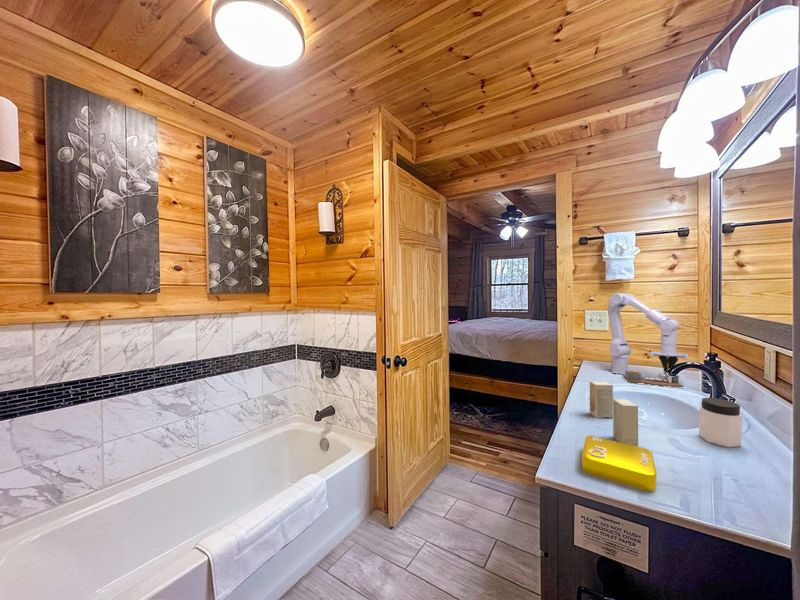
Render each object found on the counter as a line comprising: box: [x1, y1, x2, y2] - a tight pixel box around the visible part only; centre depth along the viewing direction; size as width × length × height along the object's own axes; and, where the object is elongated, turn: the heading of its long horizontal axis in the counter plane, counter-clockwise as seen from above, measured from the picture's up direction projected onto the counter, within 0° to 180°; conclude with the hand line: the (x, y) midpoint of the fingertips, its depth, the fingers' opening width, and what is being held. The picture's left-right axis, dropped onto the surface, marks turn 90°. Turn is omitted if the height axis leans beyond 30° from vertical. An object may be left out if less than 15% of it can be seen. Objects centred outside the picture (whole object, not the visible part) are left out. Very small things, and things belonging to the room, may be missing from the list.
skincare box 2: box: [612, 398, 639, 447], centre depth 94 cm, size 6×4×12 cm
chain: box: [642, 370, 672, 383], centre depth 153 cm, size 6×10×6 cm, turn 68°
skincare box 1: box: [589, 381, 614, 419], centre depth 113 cm, size 6×4×12 cm
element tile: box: [581, 435, 657, 492], centre depth 81 cm, size 15×15×5 cm
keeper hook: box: [658, 372, 680, 384], centre depth 152 cm, size 4×7×4 cm, turn 68°
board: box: [621, 374, 685, 388], centre depth 154 cm, size 12×21×1 cm, turn 68°
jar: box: [698, 397, 743, 448], centre depth 95 cm, size 9×8×12 cm
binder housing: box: [624, 370, 642, 381], centre depth 157 cm, size 5×5×4 cm
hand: (667, 371), depth 151 cm, fingers closed on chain
